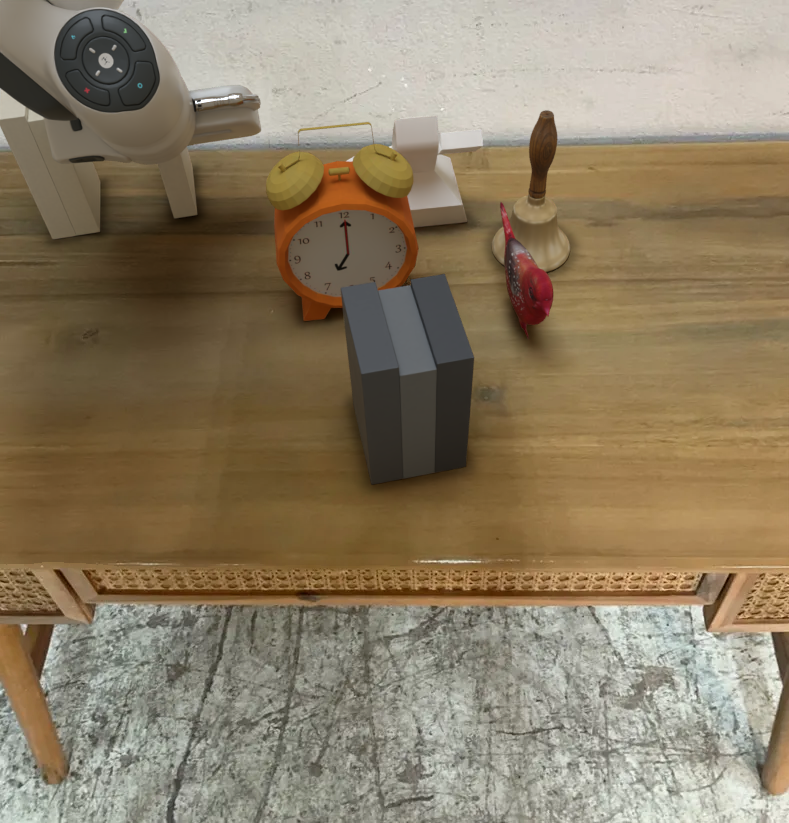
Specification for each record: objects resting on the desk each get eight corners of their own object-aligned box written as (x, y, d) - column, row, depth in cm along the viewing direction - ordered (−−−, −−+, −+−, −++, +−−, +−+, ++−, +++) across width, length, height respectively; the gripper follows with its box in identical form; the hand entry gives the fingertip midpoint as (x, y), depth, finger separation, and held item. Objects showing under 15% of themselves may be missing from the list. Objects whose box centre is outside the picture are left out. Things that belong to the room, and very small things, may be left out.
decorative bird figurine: (523, 375, 78) (534, 300, 70) (483, 249, 89) (489, 171, 81) (553, 371, 79) (568, 295, 71) (509, 246, 89) (518, 168, 81)
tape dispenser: (346, 192, 95) (336, 82, 84) (467, 180, 96) (472, 69, 85) (352, 241, 90) (343, 131, 79) (480, 228, 91) (488, 117, 80)
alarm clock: (288, 327, 83) (255, 158, 67) (285, 284, 87) (253, 114, 71) (419, 312, 84) (419, 141, 68) (411, 270, 87) (408, 98, 71)
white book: (174, 218, 93) (139, 106, 82) (170, 169, 98) (137, 58, 87) (197, 215, 93) (166, 103, 82) (192, 166, 98) (162, 55, 87)
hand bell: (475, 250, 89) (484, 118, 76) (523, 211, 92) (539, 79, 80) (538, 286, 85) (558, 154, 73) (585, 245, 89) (612, 112, 76)
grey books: (371, 485, 72) (361, 374, 60) (353, 404, 77) (340, 287, 65) (466, 466, 72) (474, 353, 60) (441, 388, 78) (444, 269, 66)
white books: (52, 239, 92) (-4, 119, 80) (55, 189, 97) (3, 69, 85) (100, 232, 92) (52, 112, 80) (100, 182, 98) (55, 62, 86)
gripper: (252, 58, 75) (258, 96, 89) (21, 91, 73) (63, 124, 87) (266, 130, 76) (269, 156, 90) (37, 164, 74) (76, 186, 88)
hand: (166, 141), depth 88 cm, fingers closed on white book, 2 cm apart
